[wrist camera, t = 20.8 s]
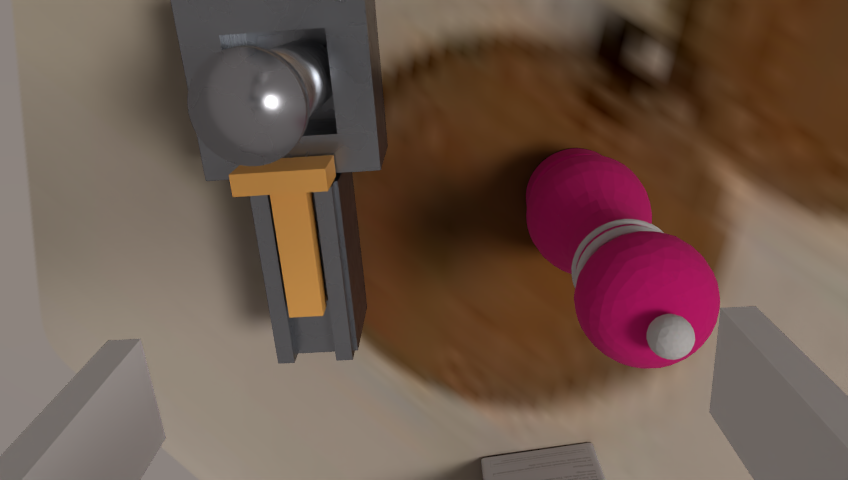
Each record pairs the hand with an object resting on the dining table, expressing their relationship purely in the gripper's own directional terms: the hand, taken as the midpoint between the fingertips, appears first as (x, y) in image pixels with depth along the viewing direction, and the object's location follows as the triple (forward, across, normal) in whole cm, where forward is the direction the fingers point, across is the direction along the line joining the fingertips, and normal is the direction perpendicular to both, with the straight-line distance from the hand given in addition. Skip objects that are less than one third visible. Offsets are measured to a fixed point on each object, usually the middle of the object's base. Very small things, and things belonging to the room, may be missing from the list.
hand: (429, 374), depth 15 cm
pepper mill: (+29, +9, -5) cm, 31 cm away
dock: (+29, -8, -2) cm, 30 cm away
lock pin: (+22, -8, -5) cm, 24 cm away
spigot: (+28, -7, +4) cm, 29 cm away
